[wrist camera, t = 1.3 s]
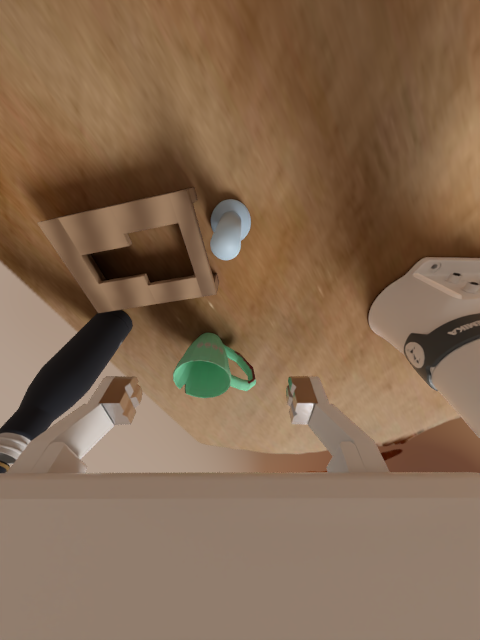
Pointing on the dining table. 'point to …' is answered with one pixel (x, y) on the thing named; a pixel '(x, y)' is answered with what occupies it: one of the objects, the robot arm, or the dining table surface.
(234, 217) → the peg
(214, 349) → the mug
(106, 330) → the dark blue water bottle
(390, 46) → the dining table surface
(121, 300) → the keyhole board
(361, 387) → the dining table surface
